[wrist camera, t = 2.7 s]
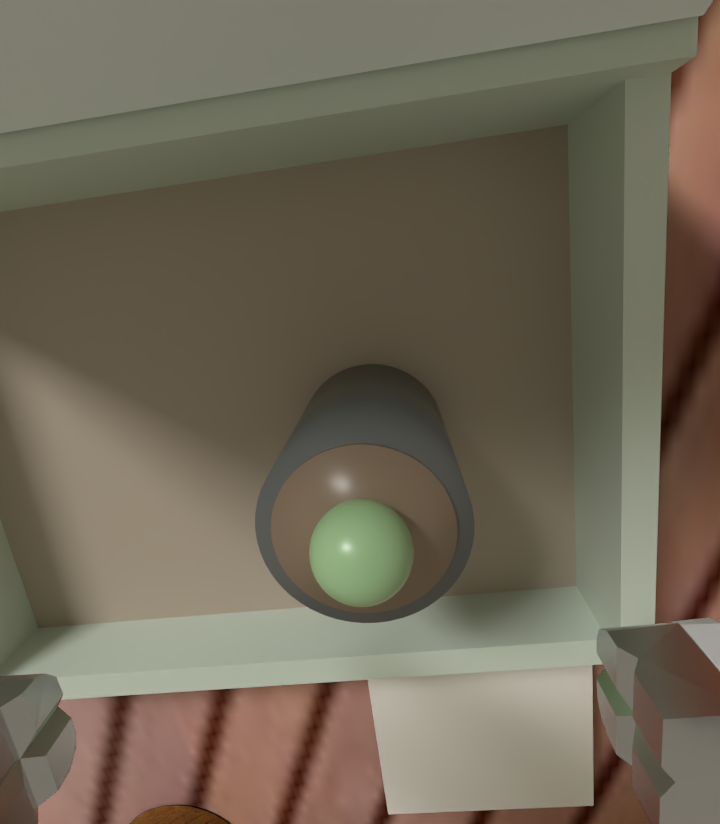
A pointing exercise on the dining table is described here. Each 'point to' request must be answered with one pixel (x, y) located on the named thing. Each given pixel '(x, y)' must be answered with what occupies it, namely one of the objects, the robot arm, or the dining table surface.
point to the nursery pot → (366, 501)
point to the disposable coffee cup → (177, 816)
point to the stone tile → (486, 740)
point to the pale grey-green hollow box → (325, 318)
